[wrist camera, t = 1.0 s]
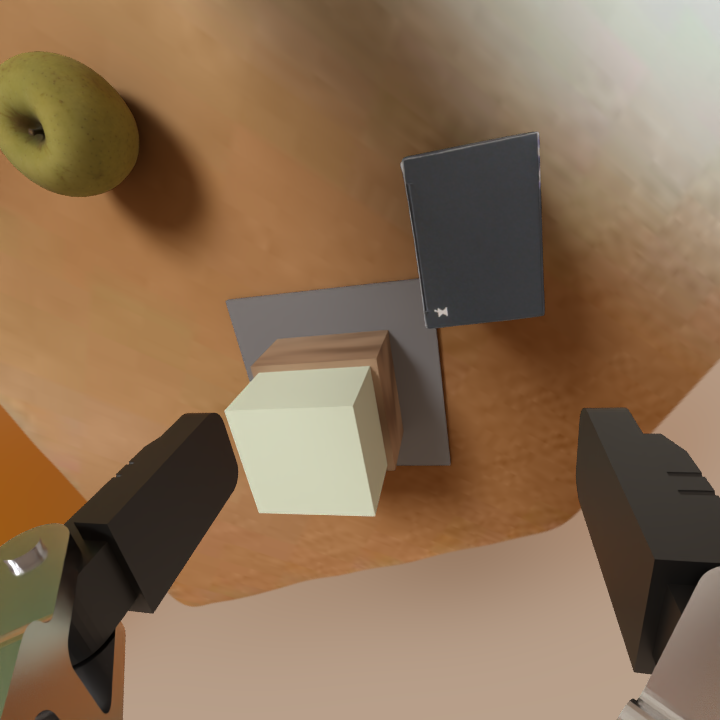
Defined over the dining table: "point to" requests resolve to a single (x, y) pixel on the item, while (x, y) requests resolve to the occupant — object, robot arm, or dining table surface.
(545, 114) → the dining table surface
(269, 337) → the mat
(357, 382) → the block top
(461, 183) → the box
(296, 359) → the block base
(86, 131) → the apple
